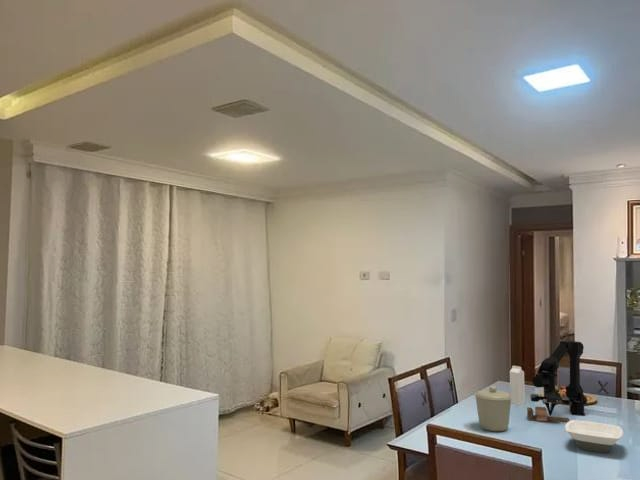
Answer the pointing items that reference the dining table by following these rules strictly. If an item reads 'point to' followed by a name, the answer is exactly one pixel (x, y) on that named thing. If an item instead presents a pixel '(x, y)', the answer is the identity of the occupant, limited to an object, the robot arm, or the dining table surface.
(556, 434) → the dining table surface
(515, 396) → the milk
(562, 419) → the rail
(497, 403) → the canister
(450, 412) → the dining table surface
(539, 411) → the block
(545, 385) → the robot arm
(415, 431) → the dining table surface
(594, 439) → the bowl
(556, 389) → the wooden plate with food
